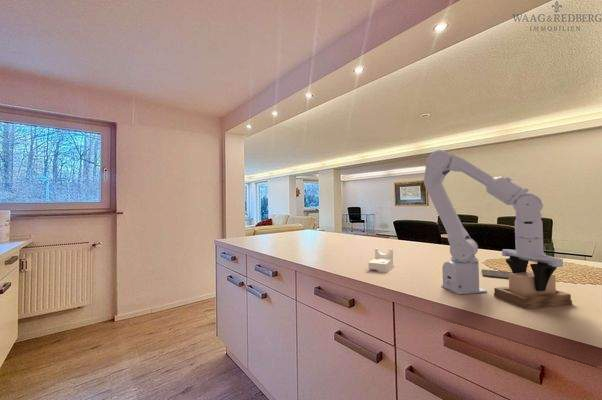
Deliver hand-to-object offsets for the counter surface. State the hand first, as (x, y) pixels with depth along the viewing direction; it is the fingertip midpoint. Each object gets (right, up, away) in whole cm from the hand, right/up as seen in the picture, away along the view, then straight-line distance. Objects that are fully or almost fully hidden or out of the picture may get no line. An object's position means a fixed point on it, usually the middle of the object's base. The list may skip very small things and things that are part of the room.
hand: (530, 287), depth 70 cm
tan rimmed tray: (0, -3, 0) cm, 3 cm away
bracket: (-29, -5, +39) cm, 48 cm away
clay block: (0, -2, 0) cm, 2 cm away
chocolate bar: (+13, -4, +22) cm, 26 cm away
